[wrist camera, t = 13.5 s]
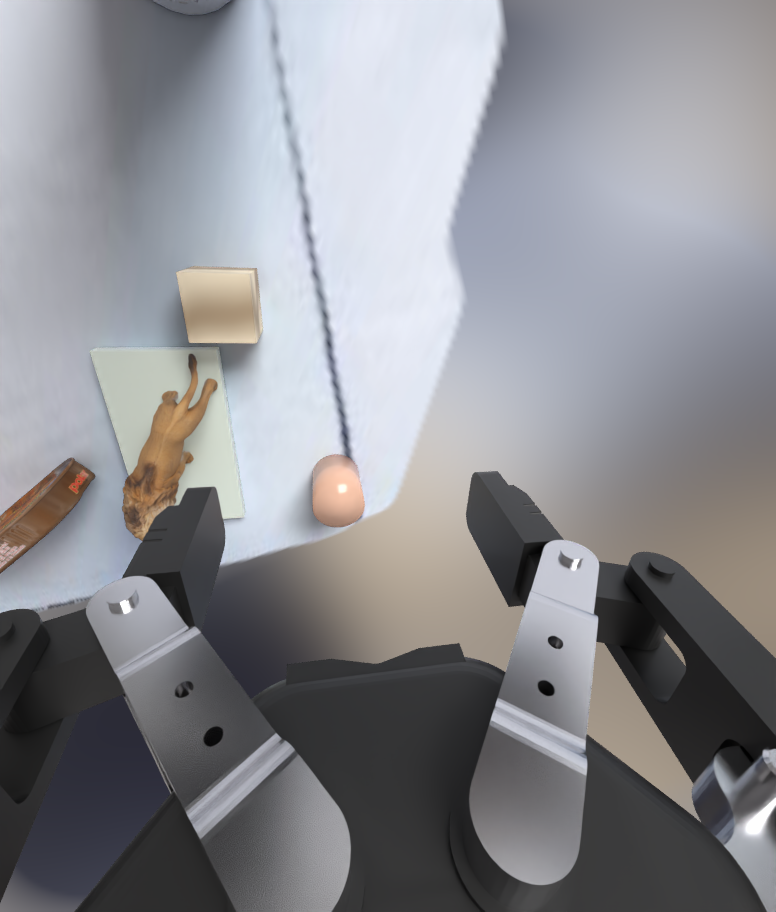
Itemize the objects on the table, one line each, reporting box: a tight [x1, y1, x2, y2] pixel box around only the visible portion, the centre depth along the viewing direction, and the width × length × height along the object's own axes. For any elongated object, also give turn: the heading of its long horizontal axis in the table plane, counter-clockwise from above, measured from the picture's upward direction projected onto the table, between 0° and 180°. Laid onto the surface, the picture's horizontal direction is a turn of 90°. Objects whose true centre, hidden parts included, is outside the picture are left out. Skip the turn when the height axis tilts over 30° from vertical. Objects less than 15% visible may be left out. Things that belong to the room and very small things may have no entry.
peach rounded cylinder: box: [313, 454, 365, 527], centre depth 43 cm, size 5×5×6 cm
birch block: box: [176, 266, 263, 343], centre depth 33 cm, size 5×5×5 cm
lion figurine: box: [122, 354, 218, 541], centre depth 35 cm, size 15×5×9 cm, turn 161°
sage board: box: [90, 347, 245, 519], centre depth 40 cm, size 18×10×1 cm, turn 179°
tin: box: [0, 458, 95, 573], centre depth 38 cm, size 15×3×8 cm, turn 126°
